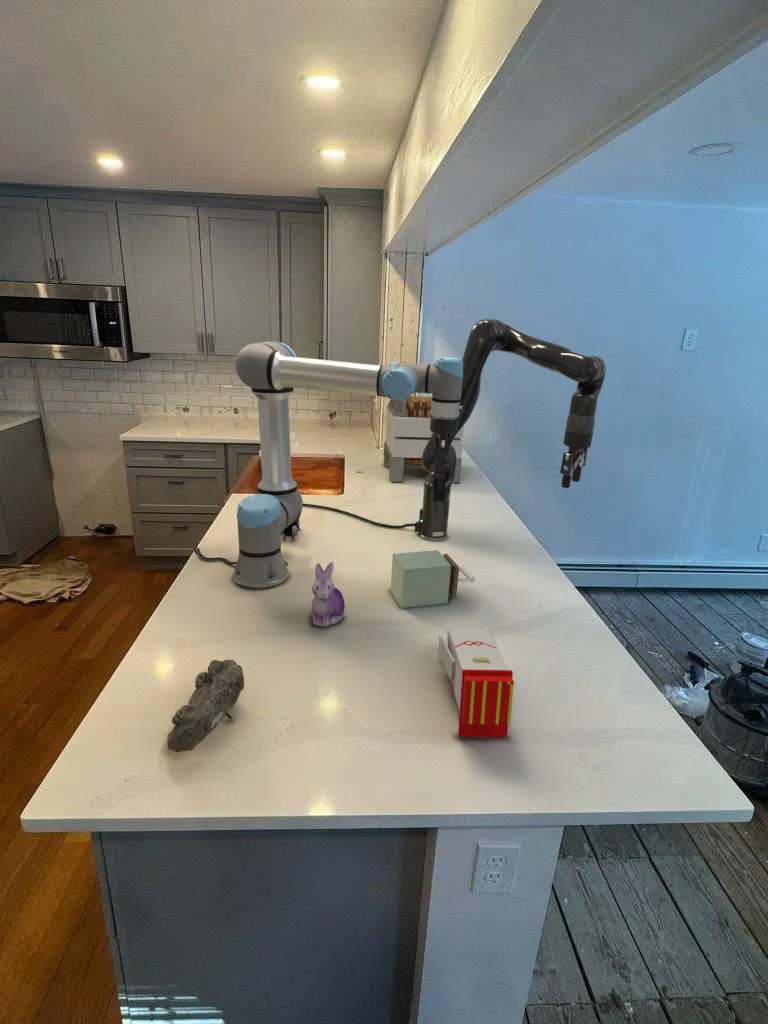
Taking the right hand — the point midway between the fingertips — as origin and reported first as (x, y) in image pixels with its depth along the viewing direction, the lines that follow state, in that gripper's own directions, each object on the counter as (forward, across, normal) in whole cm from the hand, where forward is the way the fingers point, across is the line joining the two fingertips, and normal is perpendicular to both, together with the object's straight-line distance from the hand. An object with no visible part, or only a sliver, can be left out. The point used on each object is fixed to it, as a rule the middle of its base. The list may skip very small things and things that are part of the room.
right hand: (570, 484), depth 165 cm
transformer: (+29, -64, -93) cm, 116 cm away
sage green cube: (+29, +41, -24) cm, 55 cm away
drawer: (+28, +36, -20) cm, 50 cm away
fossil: (+29, +107, -27) cm, 114 cm away
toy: (+29, +69, +7) cm, 75 cm away
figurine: (+29, +66, -35) cm, 80 cm away
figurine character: (+29, +33, -82) cm, 93 cm away
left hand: (+2, +30, -27) cm, 40 cm away
